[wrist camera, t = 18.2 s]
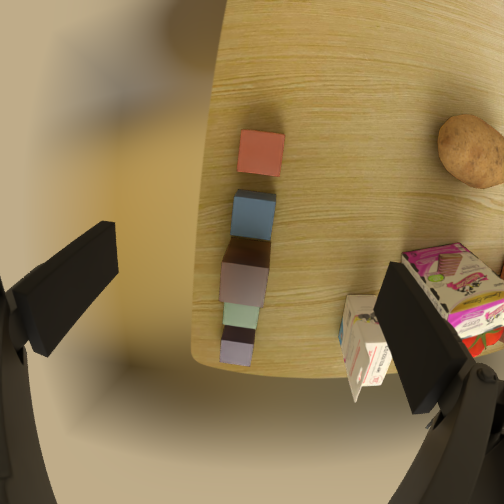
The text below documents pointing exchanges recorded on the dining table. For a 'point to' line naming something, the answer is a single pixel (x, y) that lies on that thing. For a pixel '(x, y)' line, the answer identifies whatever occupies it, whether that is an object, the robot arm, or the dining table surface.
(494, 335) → the tomato
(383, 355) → the ink box
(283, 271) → the dining table surface
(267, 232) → the block
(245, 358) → the block
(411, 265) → the candy bar box
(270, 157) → the block
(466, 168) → the potato
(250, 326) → the block
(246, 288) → the walnut block
